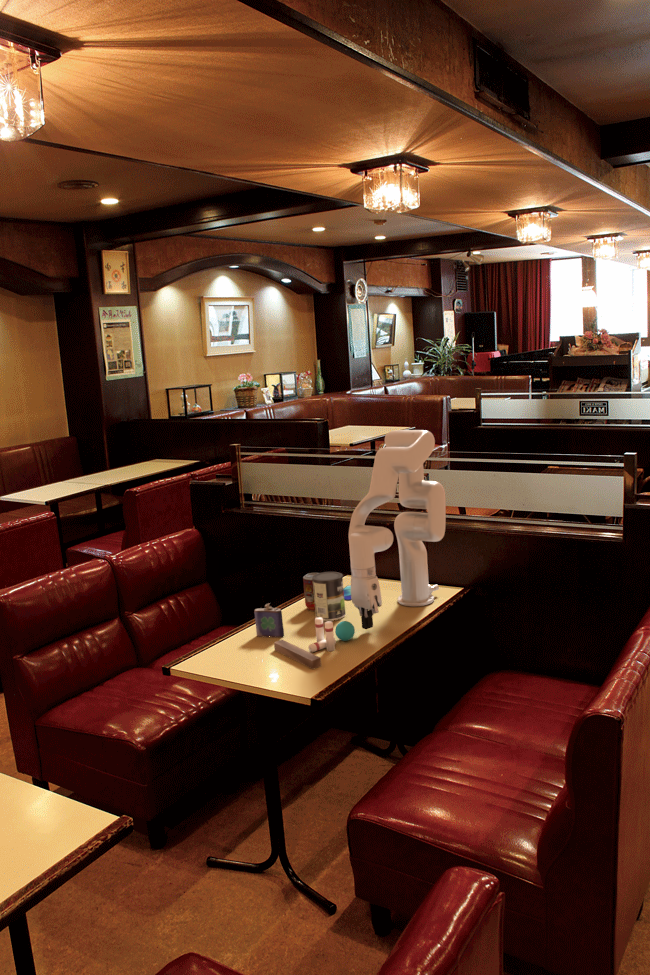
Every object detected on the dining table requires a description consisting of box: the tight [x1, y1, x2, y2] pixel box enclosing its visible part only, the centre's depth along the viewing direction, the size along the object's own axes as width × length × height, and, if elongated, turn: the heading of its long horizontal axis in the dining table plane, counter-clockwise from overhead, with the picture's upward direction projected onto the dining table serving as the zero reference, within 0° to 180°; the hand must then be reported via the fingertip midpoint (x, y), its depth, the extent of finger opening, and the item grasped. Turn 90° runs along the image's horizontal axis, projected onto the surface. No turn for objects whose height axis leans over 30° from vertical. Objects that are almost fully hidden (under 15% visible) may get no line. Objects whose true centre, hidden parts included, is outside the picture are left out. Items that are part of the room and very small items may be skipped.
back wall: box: [273, 639, 322, 670], centre depth 219 cm, size 3×20×2 cm, turn 36°
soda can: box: [302, 572, 319, 612], centre depth 260 cm, size 7×7×12 cm
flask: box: [253, 602, 285, 638], centre depth 238 cm, size 9×3×11 cm, turn 73°
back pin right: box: [314, 617, 326, 642], centre depth 227 cm, size 2×2×8 cm
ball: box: [334, 620, 356, 642], centre depth 230 cm, size 6×6×6 cm
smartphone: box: [343, 584, 352, 601], centre depth 275 cm, size 8×1×15 cm
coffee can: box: [312, 571, 346, 622], centre depth 251 cm, size 10×10×14 cm
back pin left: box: [324, 621, 336, 652], centre depth 223 cm, size 2×2×8 cm
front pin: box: [308, 637, 337, 654], centre depth 225 cm, size 2×2×8 cm
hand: (367, 627), depth 235 cm, fingers closed
